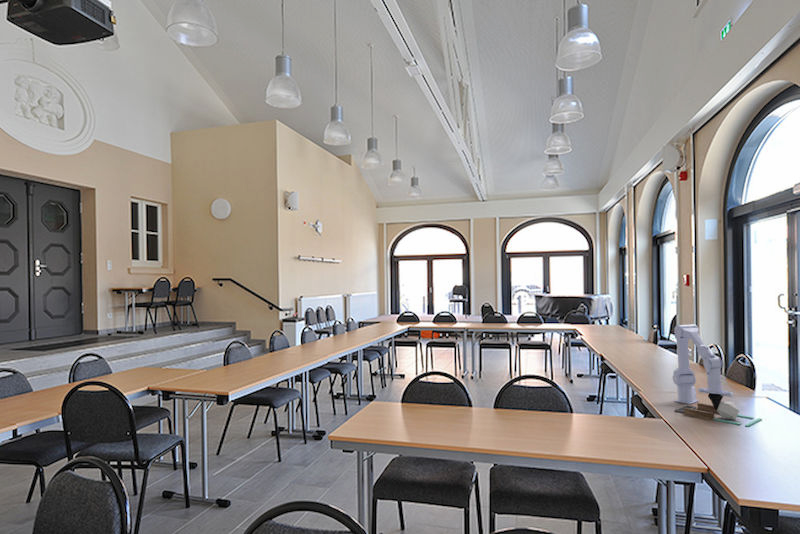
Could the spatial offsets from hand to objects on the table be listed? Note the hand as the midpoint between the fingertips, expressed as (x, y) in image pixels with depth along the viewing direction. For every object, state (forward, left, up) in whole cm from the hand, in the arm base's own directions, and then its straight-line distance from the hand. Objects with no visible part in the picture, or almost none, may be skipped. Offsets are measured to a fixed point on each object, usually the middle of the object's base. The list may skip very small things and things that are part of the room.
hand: (716, 409), depth 224 cm
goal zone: (0, +9, -3) cm, 9 cm away
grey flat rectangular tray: (0, -15, -3) cm, 15 cm away
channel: (0, -5, -3) cm, 6 cm away
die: (0, +5, -4) cm, 6 cm away
